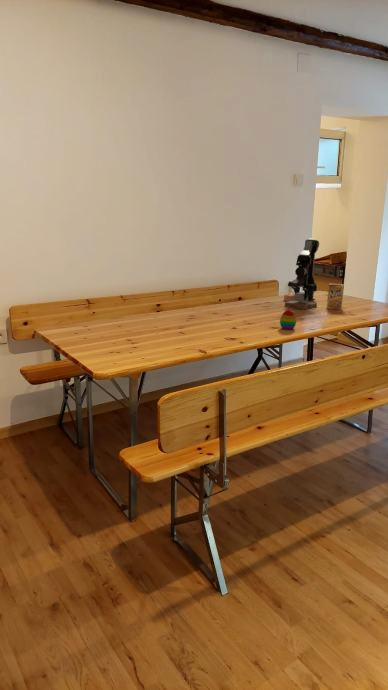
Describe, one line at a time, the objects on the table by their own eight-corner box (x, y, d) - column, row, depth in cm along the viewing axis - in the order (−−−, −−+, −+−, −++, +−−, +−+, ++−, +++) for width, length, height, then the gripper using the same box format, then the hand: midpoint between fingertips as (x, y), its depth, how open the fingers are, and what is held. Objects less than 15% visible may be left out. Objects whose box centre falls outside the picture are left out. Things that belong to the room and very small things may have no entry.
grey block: (300, 299, 324) (300, 291, 322) (307, 301, 319) (308, 293, 318) (294, 300, 320) (294, 292, 319) (301, 302, 316) (302, 294, 314)
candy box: (326, 308, 316) (328, 284, 312) (327, 307, 320) (329, 283, 316) (341, 309, 314) (343, 285, 309) (341, 308, 317) (344, 284, 313)
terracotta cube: (288, 300, 342) (288, 294, 341) (294, 301, 339) (294, 295, 338) (283, 300, 339) (284, 295, 338) (289, 302, 336) (290, 296, 334)
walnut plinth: (299, 303, 330) (299, 299, 330) (316, 307, 320) (316, 303, 319) (284, 306, 322) (285, 302, 321) (302, 309, 311) (302, 305, 311)
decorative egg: (276, 327, 267) (277, 308, 264) (289, 326, 270) (291, 307, 267) (285, 331, 260) (286, 312, 257) (298, 329, 263) (299, 310, 260)
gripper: (282, 273, 317) (281, 298, 322) (306, 277, 303) (304, 303, 308) (294, 272, 324) (292, 296, 328) (318, 275, 310) (316, 301, 315)
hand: (301, 299), depth 320 cm, fingers closed on grey block, 6 cm apart
